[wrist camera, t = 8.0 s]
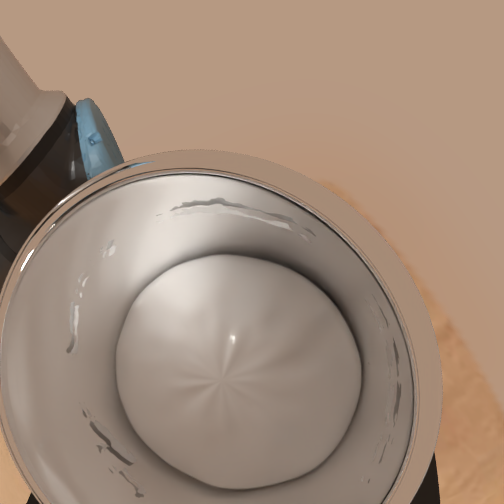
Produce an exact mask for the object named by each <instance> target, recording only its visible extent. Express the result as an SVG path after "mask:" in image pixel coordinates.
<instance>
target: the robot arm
mask: <svg viewBox="0 0 504 504" xmlns="http://www.w3.org/2000/svg"><path fill="white" fill-rule="evenodd" d="M122 163H125V162H124V160H123V157H122V155H121V152H120V150H119V147H118V145H117V143H116V141H115V138H114V136H113V134H112V132H111V130H110V128H109V126H108V124H107V122H106V120H105V118H104V116H103V114H102V113H101V111H100V109H99V108H98V107H97V105H95V103H94V101H93V100H92V99H90V98H87V99H84V100H79V101H78V102H77V104H76V105H74V104H72V102H71V101H70V100H69V98H68V97H67V96H66V95H65V93H63V91H43V90H40V89H39V88H38V87H37V86H36V84H35V83H34V82H33V80H32V79H31V78H30V77H29V75H28V74H27V72H26V71H25V70H24V68H23V67H22V66H21V64H20V63H19V62H18V60H17V59H16V58H15V56H14V55H13V54H12V52H11V51H10V50H9V48H8V47H7V45H6V44H5V43H4V41H3V40H2V38H1V37H0V294H1V291H2V288H3V285H4V282H5V280H6V277H7V275H8V272H9V270H10V268H11V266H12V264H13V262H14V260H15V258H16V256H17V254H18V253H19V251H20V249H21V247H22V246H23V244H24V243H25V241H26V240H27V238H28V237H29V235H30V234H31V233H32V231H33V230H34V229H35V227H36V226H37V225H38V224H39V222H40V221H41V220H42V219H43V218H44V217H45V216H46V215H47V213H48V212H49V211H50V210H51V209H52V208H53V207H54V206H55V205H56V204H58V203H59V202H60V201H61V200H62V199H63V198H64V197H66V196H67V195H68V194H69V193H71V192H72V191H73V190H75V189H76V188H77V187H79V186H80V185H82V184H83V183H85V182H86V181H88V180H89V179H91V178H93V177H95V176H96V175H98V174H100V173H102V172H104V171H106V170H108V169H110V168H113V167H115V166H117V165H120V164H122ZM26 504H40V503H39V502H38V500H37V499H36V498H35V496H34V495H33V493H32V492H31V494H30V497H29V499H28V501H27V503H26ZM410 504H440V495H439V484H438V475H437V467H436V460H435V453H433V457H432V459H431V462H430V465H429V468H428V470H427V473H426V475H425V477H424V479H423V481H422V483H421V485H420V487H419V489H418V491H417V493H416V494H415V496H414V498H413V500H412V501H411V503H410Z"/></svg>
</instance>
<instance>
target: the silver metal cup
mask: <svg viewBox="0 0 504 504" xmlns="http://www.w3.org/2000/svg"><path fill="white" fill-rule="evenodd" d="M442 399H443V385H442V370H441V361H440V355H439V350H438V345H437V341H436V336H435V332H434V329H433V326H432V323H431V320H430V317H429V314H428V312H427V309H426V306H425V304H424V302H423V299H422V297H421V295H420V293H419V291H418V289H417V287H416V285H415V283H414V281H413V279H412V278H411V276H410V274H409V273H408V271H407V269H406V268H405V266H404V265H403V263H402V262H401V260H400V259H399V257H398V256H397V254H396V253H395V252H394V250H393V249H392V248H391V246H390V245H389V244H388V243H387V241H386V240H385V239H384V238H383V237H382V236H381V235H380V233H379V232H378V231H377V230H376V229H375V228H374V227H373V226H372V225H371V224H370V223H369V222H368V221H367V220H366V219H365V218H364V217H363V216H362V215H361V214H360V213H358V212H357V211H356V210H355V209H354V208H353V207H351V206H350V205H349V204H348V203H346V202H345V201H344V200H342V199H341V198H340V197H338V196H337V195H335V194H334V193H333V192H331V191H330V190H328V189H327V188H325V187H323V186H322V185H320V184H319V183H317V182H315V181H313V180H312V179H310V178H308V177H306V176H304V175H302V174H300V173H298V172H295V171H293V170H291V169H288V168H286V167H284V166H281V165H278V164H276V163H273V162H270V161H267V160H264V159H260V158H256V157H252V156H248V155H243V154H238V153H232V152H225V151H215V150H179V151H170V152H163V153H157V154H153V155H148V156H144V157H141V158H137V159H134V160H131V161H127V162H125V163H122V164H120V165H117V166H115V167H113V168H110V169H108V170H106V171H104V172H102V173H100V174H98V175H96V176H95V177H93V178H91V179H89V180H88V181H86V182H85V183H83V184H82V185H80V186H79V187H77V188H76V189H75V190H73V191H72V192H71V193H69V194H68V195H67V196H66V197H64V198H63V199H62V200H61V201H60V202H59V203H58V204H56V205H55V206H54V207H53V208H52V209H51V210H50V211H49V212H48V213H47V215H46V216H45V217H44V218H43V219H42V220H41V221H40V222H39V224H38V225H37V226H36V227H35V229H34V230H33V231H32V233H31V234H30V235H29V237H28V238H27V240H26V241H25V243H24V244H23V246H22V247H21V249H20V251H19V253H18V254H17V256H16V258H15V260H14V262H13V264H12V266H11V268H10V270H9V272H8V275H7V277H6V280H5V282H4V285H3V288H2V291H1V294H0V428H1V431H2V434H3V437H4V440H5V442H6V445H7V447H8V450H9V452H10V454H11V457H12V459H13V461H14V463H15V465H16V467H17V469H18V471H19V472H20V474H21V476H22V478H23V479H24V481H25V483H26V484H27V486H28V487H29V489H30V490H31V492H32V493H33V495H34V496H35V498H36V499H37V500H38V502H39V503H40V504H410V503H411V501H412V500H413V498H414V496H415V494H416V493H417V491H418V489H419V487H420V485H421V483H422V481H423V479H424V477H425V475H426V473H427V470H428V468H429V465H430V462H431V459H432V457H433V453H434V450H435V446H436V443H437V438H438V434H439V429H440V422H441V414H442Z"/></svg>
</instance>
